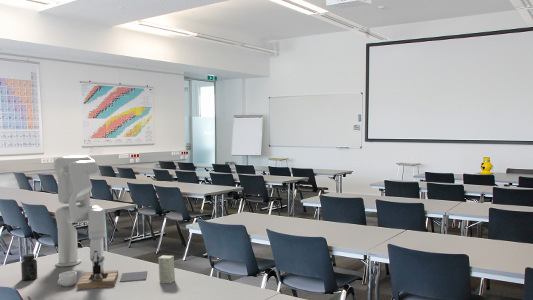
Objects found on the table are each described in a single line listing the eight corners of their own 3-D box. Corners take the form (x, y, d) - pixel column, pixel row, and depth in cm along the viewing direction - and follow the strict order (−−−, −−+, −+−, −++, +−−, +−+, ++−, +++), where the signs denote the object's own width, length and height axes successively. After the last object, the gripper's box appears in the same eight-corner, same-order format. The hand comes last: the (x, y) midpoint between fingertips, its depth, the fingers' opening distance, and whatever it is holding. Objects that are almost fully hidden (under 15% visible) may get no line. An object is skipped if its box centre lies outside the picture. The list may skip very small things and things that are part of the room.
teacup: (67, 281, 206) (67, 270, 206) (80, 282, 203) (80, 271, 203) (51, 288, 196) (51, 277, 196) (64, 290, 194) (64, 278, 194)
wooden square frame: (84, 277, 210) (83, 272, 210) (118, 274, 214) (118, 269, 214) (77, 289, 195) (77, 283, 195) (114, 286, 198) (113, 280, 198)
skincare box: (175, 280, 205) (174, 255, 204) (170, 283, 201) (170, 258, 200) (163, 279, 207) (162, 254, 206) (158, 282, 202) (158, 257, 202)
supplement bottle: (19, 279, 209) (18, 255, 209) (34, 275, 214) (33, 252, 214) (24, 282, 205) (23, 257, 204) (39, 278, 210) (38, 254, 209)
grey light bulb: (92, 275, 207) (92, 256, 206) (105, 274, 208) (105, 255, 208) (90, 280, 201) (89, 260, 200) (103, 279, 202) (103, 259, 202)
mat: (122, 273, 215) (122, 273, 215) (147, 271, 218) (147, 271, 218) (119, 282, 204) (119, 281, 204) (145, 279, 206) (145, 279, 206)
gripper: (91, 230, 211) (92, 266, 212) (85, 239, 194) (86, 278, 195) (107, 229, 212) (108, 265, 213) (102, 238, 196) (103, 277, 197)
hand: (98, 271), depth 204 cm, fingers closed on grey light bulb, 5 cm apart
